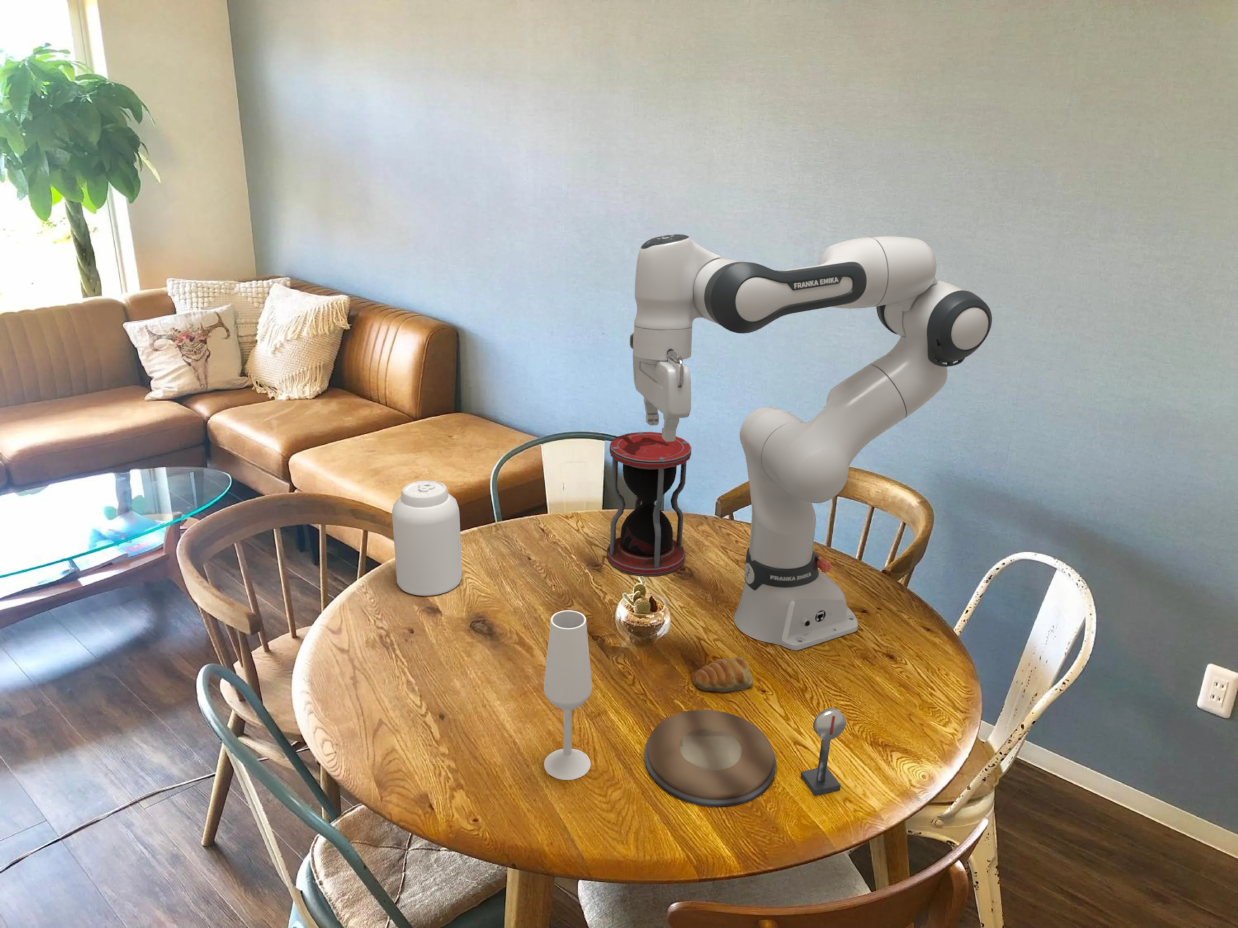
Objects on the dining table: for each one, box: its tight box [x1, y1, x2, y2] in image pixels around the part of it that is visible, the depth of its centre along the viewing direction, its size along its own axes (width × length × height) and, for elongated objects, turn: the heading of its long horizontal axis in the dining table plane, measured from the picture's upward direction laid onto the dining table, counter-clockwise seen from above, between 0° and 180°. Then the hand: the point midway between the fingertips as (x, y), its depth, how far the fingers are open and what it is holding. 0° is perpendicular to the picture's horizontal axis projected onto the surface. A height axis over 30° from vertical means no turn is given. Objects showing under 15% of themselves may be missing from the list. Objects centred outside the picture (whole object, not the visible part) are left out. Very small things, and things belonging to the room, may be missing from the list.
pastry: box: [692, 655, 754, 693], centre depth 151 cm, size 9×7×4 cm
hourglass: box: [606, 431, 692, 577], centre depth 186 cm, size 16×16×25 cm
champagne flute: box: [543, 609, 593, 781], centre depth 127 cm, size 7×7×24 cm
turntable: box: [643, 709, 777, 808], centre depth 133 cm, size 19×19×2 cm
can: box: [391, 479, 463, 597], centre depth 175 cm, size 12×12×20 cm
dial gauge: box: [800, 707, 847, 797], centre depth 127 cm, size 4×4×13 cm
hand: (660, 432), depth 144 cm, fingers open, 8 cm apart
